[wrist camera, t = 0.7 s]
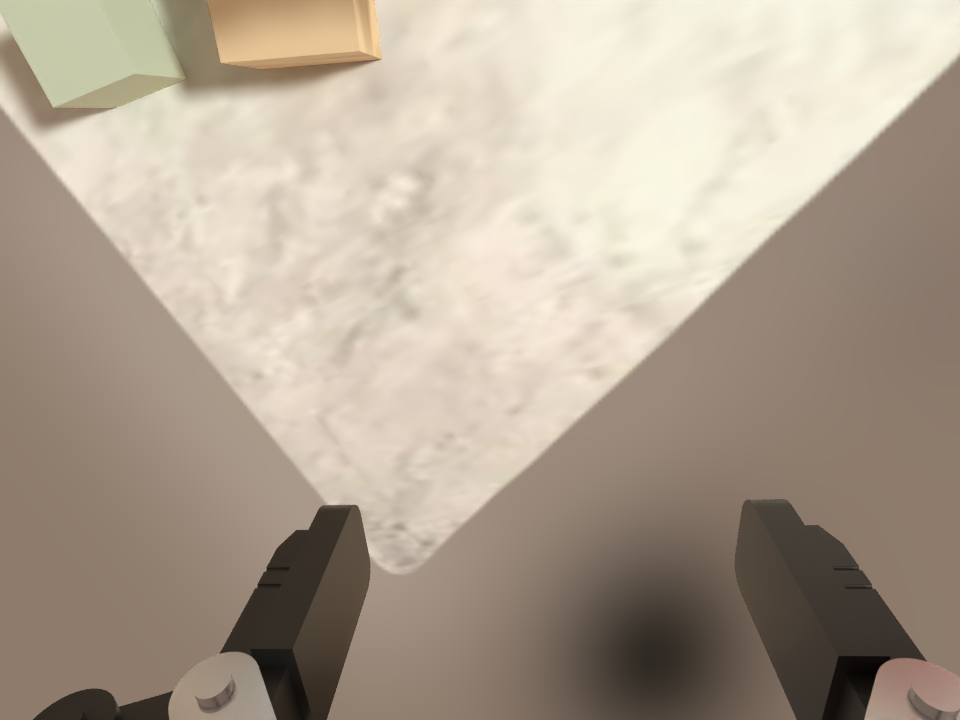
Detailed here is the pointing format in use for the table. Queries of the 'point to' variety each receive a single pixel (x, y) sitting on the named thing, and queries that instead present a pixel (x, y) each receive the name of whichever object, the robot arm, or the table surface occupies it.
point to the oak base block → (294, 32)
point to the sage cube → (93, 49)
